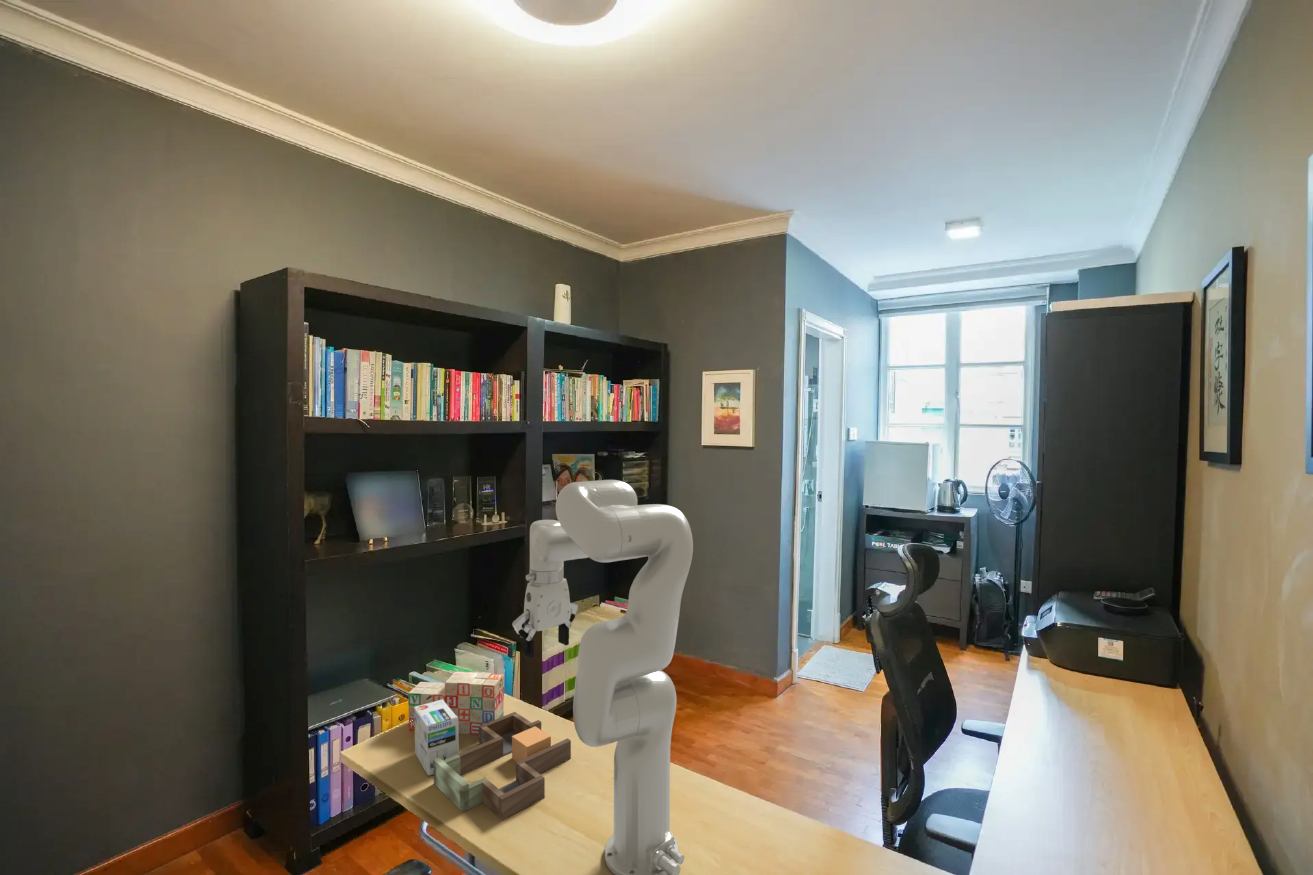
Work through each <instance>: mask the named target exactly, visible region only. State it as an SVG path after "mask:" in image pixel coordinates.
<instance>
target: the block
mask: <svg viewBox="0 0 1313 875" xmlns="http://www.w3.org/2000/svg"><path fill="white" fill-rule="evenodd" d="M551 736H552V735H550V734H548V733H546V732H545V731H544V730H543V729H541V730H540V729H539V728H537V727H536V726H535V727H532V728H530V729H528V730H525V731H523V732H521V733H518V734H516V735H514V736H512V752H511V759H513V760H514V761H515V762H518V761H520V760H522V759H525V758H527V757H529V756H531V755H533V754H535V753H537V752H539V751H542V750H544V749H546V748H548V747H550V746H552V745H551V744H552V739H551V738H552V737H551Z"/></svg>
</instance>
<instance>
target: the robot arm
mask: <svg viewBox="0 0 1313 875" xmlns="http://www.w3.org/2000/svg"><path fill="white" fill-rule="evenodd" d="M555 514H556V518H557V520H556V519H539V520H536V521H533V522H532V523H531V524H530V527H529V573H528V574H526V575H525V580H526V581H527V586H526V590H525V593H524V594H525V595H524V596H525V597H524V602H523V603H524V604H523V605H524V606H523V613H521V615H519V616H518V617H517V618H516V619H515V620H513V622H512V624H511V625H512V627H513V628H514V631H515V634H517V635H518V636H519V637H520V639H521V638H522V653H523V655H524V656H526V657H527V658H528V659H532V658H534V657H535V641H534V639H533V637H534V635H535V634H536V632H541V631H545V630H548V629H552V628H554V627H557V626H558V631H557V632H558V633H557V637H558V638H557V639H558V640H557V641H558V643H559V644H561V645H564V646H569V644H570V629H571V627H572V624H573V621H574V619H575V618H576V614H577V613H578V612H577V611H578V609H579V606H578V605H577V604H575V603H573V602H571V599H570V591H569V585H568V581H567V578H564V564H565V563H564V562H566V561H574V560H578V559H587V558H589V559H590V560H593V562H598V563H612V562H619V561H626V560H632V559H639V558H644V557H645V558H646V557H648V558H647V561H646V563H645V564H644V565H643V566H642V567H641V568H640V570H639V571H638V573H637V574H636V576H635V577H634V579H633V581H632V584H631V586H630V588H629V593H628V603H627V609H626V611H625V614H624V615H621V616H620V617H619V618H614V619H609V620H603V621H601V622H597V623H594V624H592V625H591V626H590V627H589V628H587V629H586V630H585V632H584V633H583V635H582V637H581V638H580V639H581V640H580V641H579V646H578V652H577V663H576V671H575V681H574V682H575V684H574V690H573V691H574V692H573V706H572V716H573V719H572V720H573V724H574V728H575V732H576V734H577V737H578V739H580V741H581V743H583V744H585V746H588V747H593V748H598V747H604V746H607V745H610V744H613V743H616V742H617V743H616V745H615V749H614V755H613V834H612V835H611V836H610V837H609V838H608V839H607V841H606V843H605V847H604V860H605V864H606V866H607V868H608V869H609V871H611V873H613V875H680V873H681V866H680V865H682V864H683V863H684V861H685V855H684V854H682V853H681V852H679V851H680V849H679V845H678V841H677V840H676V838H675V835H674V834H673V833H671V832H670V830H671V829H670V828H671V827H670V825H671V824H670V822H671V821H670V819H671V818H670V817H671V816H670V815H671V814H670V811H671V810H670V809H671V808H670V807H671V806H670V805H671V804H670V803H671V800H670V799H671V795H670V794H671V793H670V792H671V791H670V790H671V775H670V774H671V741H672V732H673V726H674V720H675V716H676V710H677V692H676V686H675V685H674V682H673V681H672V680H673V679H672V678H671V677H670V676H669V675H668V673H666V672H664V671H663V670H664V669H665V668H667V667H668V666H669V664H671V662H672V659H673V657H674V652H675V647H676V641H677V635H678V634H677V633H678V627H679V619H680V612H681V611H680V610H681V604H682V603H681V601H682V597H683V592H684V590H685V589H684V588H685V585H686V582H687V580H688V579H687V578H688V576H689V571H690V568H691V565H692V559H693V553H694V540H693V533H692V529H691V526H690V523H689V521H688V519H687V517H686V516H685V514H684V512H682V510H679V508H677V507H674V506H671V505H669V504H663V503H662V504H661V503H660V504H659V503H656V504H655V503H653V504H652V503H651V504H638V496H637V493H636V491H635V490H634V488H633V487H632V486H631V485H630V484H628V483H627V482H625V481H622V480H619V479H618V480H617V479H603V480H602V479H600V480H587V481H574V482H571V483H568V484H566V485H565V486H564V487H563V488H562V489H560V491H559V493H558V495H557V498H556V501H555ZM523 624H524V627H522V626H523Z"/></svg>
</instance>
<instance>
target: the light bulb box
mask: <svg viewBox="0 0 1313 875" xmlns="http://www.w3.org/2000/svg"><path fill="white" fill-rule="evenodd" d="M414 717H415V730H414V755H416V757H417V759H418V761H419V763H420V764H421V766H422V768H423V770H424V771H425V773H426V775H427V776H432V775H434V759H436V758H441V759H442V760H445V759H448V758H450V757H452V756H455V755H457V754H459V753H460V750H459V749H460V748H459V746H460V744H459V742H460V741H459V738H460V737H459V733H458V716H457V715H456V714H455V713H454V712H453V711H452V710H451V709H450V708H449V706H448V705H447V704H446V702H445V701H444V700H443V699H442V700H439V701H435V702H431V703H427V704H424V705H419V706H416V707H414Z"/></svg>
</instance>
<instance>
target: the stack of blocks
mask: <svg viewBox="0 0 1313 875" xmlns="http://www.w3.org/2000/svg"><path fill="white" fill-rule="evenodd" d="M504 677H505V675H504V674H503V673H491V672H484V671H483V672H475V671H473V672H471V671H467V672H466V671H454V672H453V673H452V674H451V675H450V676H449V678H448V679H447V680H446V681H445V682H434V681H433V682H432V681H431V682H430V681H420V682H419V683H418V684H416V685H415V686H414V687H413V688H412V689H411V690H410V691H409V692H408V693H407V698H408V699H407V700H408V704H407V705H408V730H409V731H415V717H414V707H416V706H419V705H424V704H427V703H431V702H435V701H439V700H442V699H443V700H444V701H445V702H446V704H447V705H448V706H449V708H450V709H451V710H452V711H453V712H454V713H455V714H456V715H457V716H458V734H463V735H474V736H475V735H476V736H477V735H478V736H479V726H481V725H483V724H486V723H488V722H491V721H493V720H496V719H498V718H501V717H503V716H505V714H504V713H505V712H504V704H505V703H504V698H505V695H504V694H505V693H504V692H505V686H504V682H505V681H504ZM412 720H413V721H412ZM410 721H411V722H410Z"/></svg>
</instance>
